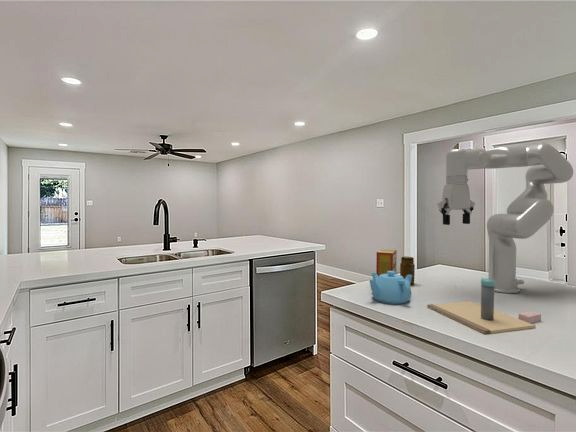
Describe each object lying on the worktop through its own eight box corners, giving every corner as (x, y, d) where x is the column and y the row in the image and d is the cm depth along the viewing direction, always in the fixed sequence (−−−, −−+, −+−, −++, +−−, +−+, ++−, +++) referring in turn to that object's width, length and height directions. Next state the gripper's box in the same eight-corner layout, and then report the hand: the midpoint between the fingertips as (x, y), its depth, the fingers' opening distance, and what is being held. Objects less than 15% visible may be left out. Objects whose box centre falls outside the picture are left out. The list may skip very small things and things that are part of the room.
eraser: (530, 318, 103) (530, 311, 103) (540, 321, 100) (541, 314, 100) (518, 321, 101) (518, 313, 101) (528, 324, 98) (529, 316, 98)
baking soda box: (392, 290, 135) (392, 252, 135) (376, 288, 138) (376, 251, 138) (396, 285, 144) (396, 249, 143) (381, 283, 147) (381, 248, 146)
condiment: (409, 281, 151) (409, 255, 150) (421, 286, 143) (421, 258, 142) (395, 282, 149) (395, 256, 149) (406, 287, 141) (406, 259, 140)
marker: (487, 316, 103) (487, 278, 102) (496, 320, 99) (497, 280, 99) (477, 317, 102) (478, 278, 101) (487, 321, 98) (487, 281, 98)
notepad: (470, 303, 118) (470, 300, 118) (535, 327, 95) (535, 324, 95) (427, 307, 114) (427, 304, 114) (484, 334, 90) (484, 330, 90)
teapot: (367, 303, 119) (367, 274, 119) (371, 292, 133) (372, 266, 133) (411, 307, 114) (412, 277, 113) (411, 296, 128) (412, 268, 127)
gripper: (466, 181, 135) (466, 222, 136) (431, 181, 131) (431, 224, 131) (481, 180, 128) (481, 224, 129) (445, 180, 123) (445, 225, 124)
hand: (456, 224), depth 130 cm, fingers open, 9 cm apart
